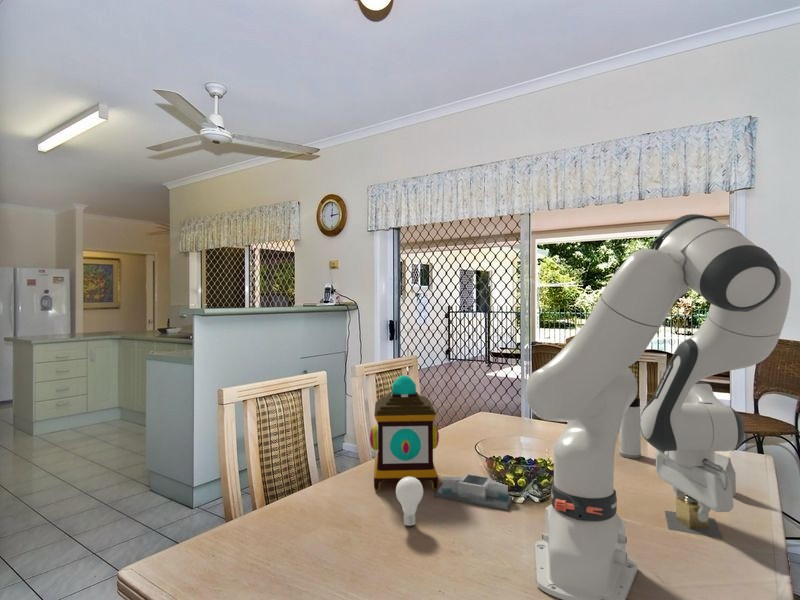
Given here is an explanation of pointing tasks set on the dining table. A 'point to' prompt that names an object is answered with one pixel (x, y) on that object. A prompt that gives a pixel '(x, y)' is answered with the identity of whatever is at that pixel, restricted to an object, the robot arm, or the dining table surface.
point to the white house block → (727, 469)
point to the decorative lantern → (404, 435)
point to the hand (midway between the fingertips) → (691, 514)
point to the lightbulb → (409, 497)
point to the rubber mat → (678, 526)
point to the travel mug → (631, 432)
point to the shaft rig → (475, 491)
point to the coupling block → (688, 512)
